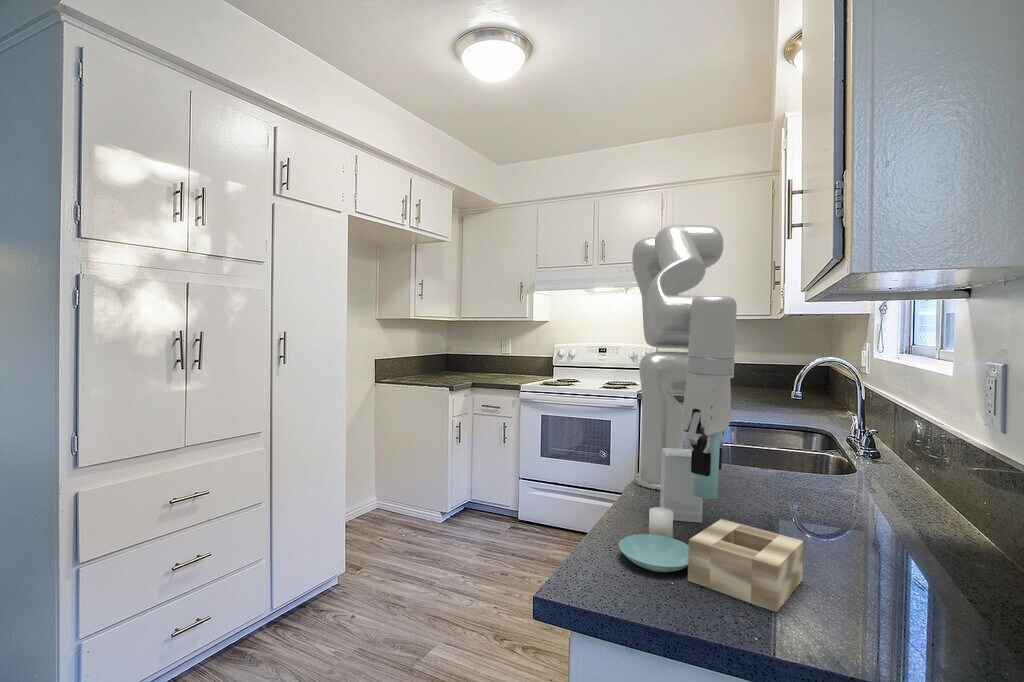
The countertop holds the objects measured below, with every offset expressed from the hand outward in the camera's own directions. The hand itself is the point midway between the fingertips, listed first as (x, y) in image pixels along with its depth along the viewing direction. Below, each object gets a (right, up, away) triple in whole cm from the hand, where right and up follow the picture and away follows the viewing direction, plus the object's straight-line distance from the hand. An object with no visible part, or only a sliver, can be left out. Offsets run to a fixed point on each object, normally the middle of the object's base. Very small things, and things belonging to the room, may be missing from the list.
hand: (706, 470), depth 90 cm
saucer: (-11, -13, -9) cm, 19 cm away
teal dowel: (0, -4, 0) cm, 4 cm away
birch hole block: (0, -12, -15) cm, 19 cm away
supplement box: (-1, -12, +12) cm, 17 cm away
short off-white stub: (-8, -12, 0) cm, 14 cm away
